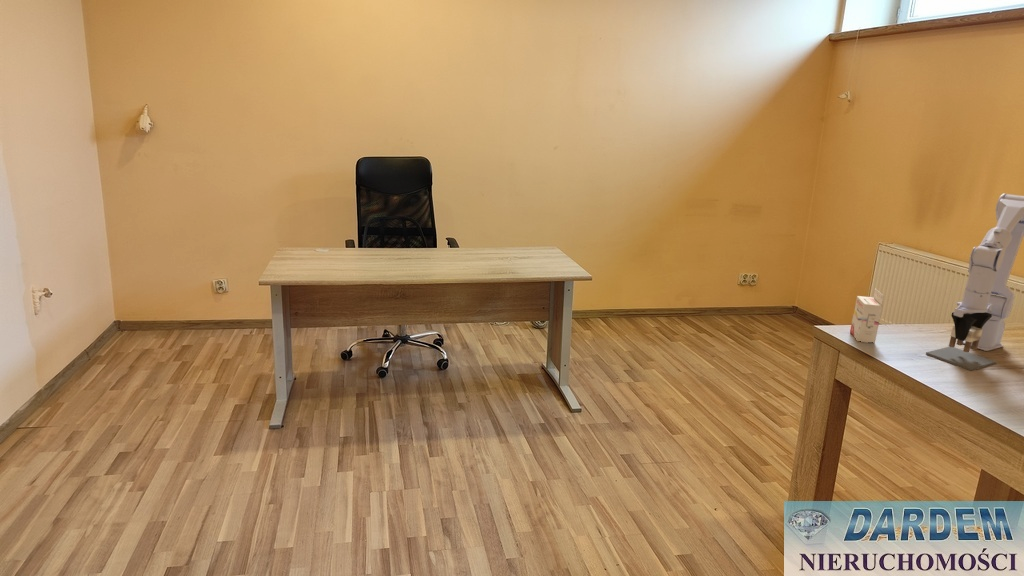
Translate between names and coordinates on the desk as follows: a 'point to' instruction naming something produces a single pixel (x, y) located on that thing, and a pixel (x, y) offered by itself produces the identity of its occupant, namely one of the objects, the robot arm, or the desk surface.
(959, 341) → the stool
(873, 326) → the ink cartridge box
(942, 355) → the mat
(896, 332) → the desk surface
